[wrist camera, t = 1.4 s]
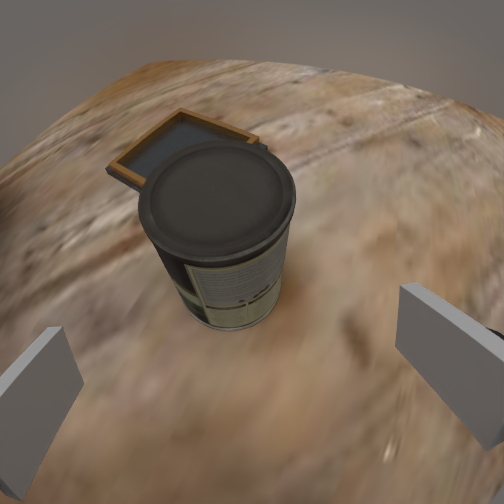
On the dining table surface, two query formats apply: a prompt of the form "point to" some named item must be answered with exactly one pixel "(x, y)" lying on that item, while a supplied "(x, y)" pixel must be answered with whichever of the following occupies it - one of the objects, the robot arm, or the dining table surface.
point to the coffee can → (221, 228)
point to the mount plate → (171, 144)
